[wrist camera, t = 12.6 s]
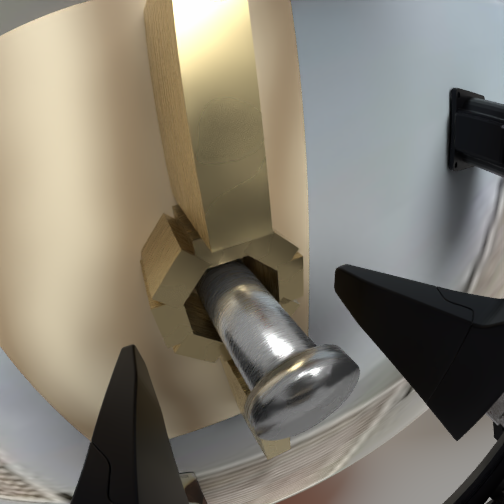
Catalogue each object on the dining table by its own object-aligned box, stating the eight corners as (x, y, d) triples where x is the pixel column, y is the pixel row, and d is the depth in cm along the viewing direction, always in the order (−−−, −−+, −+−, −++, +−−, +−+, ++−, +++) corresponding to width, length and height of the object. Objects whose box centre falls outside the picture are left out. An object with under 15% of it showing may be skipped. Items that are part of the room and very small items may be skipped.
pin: (242, 274, 13) (350, 404, 7) (182, 295, 12) (261, 452, 6) (233, 217, 12) (368, 341, 6) (166, 237, 11) (248, 404, 5)
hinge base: (235, 3, 8) (312, -46, 4) (267, 287, 14) (325, 353, 10) (89, 23, 6) (73, -40, 2) (164, 324, 13) (194, 410, 9)
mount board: (281, -9, 8) (288, -13, 8) (301, 378, 21) (305, 383, 20) (-83, 99, 3) (-90, 99, 3) (106, 447, 16) (107, 454, 15)
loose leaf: (237, 313, 14) (285, 382, 10) (257, 396, 18) (290, 448, 14) (208, 324, 13) (248, 399, 10) (237, 405, 17) (267, 459, 14)
